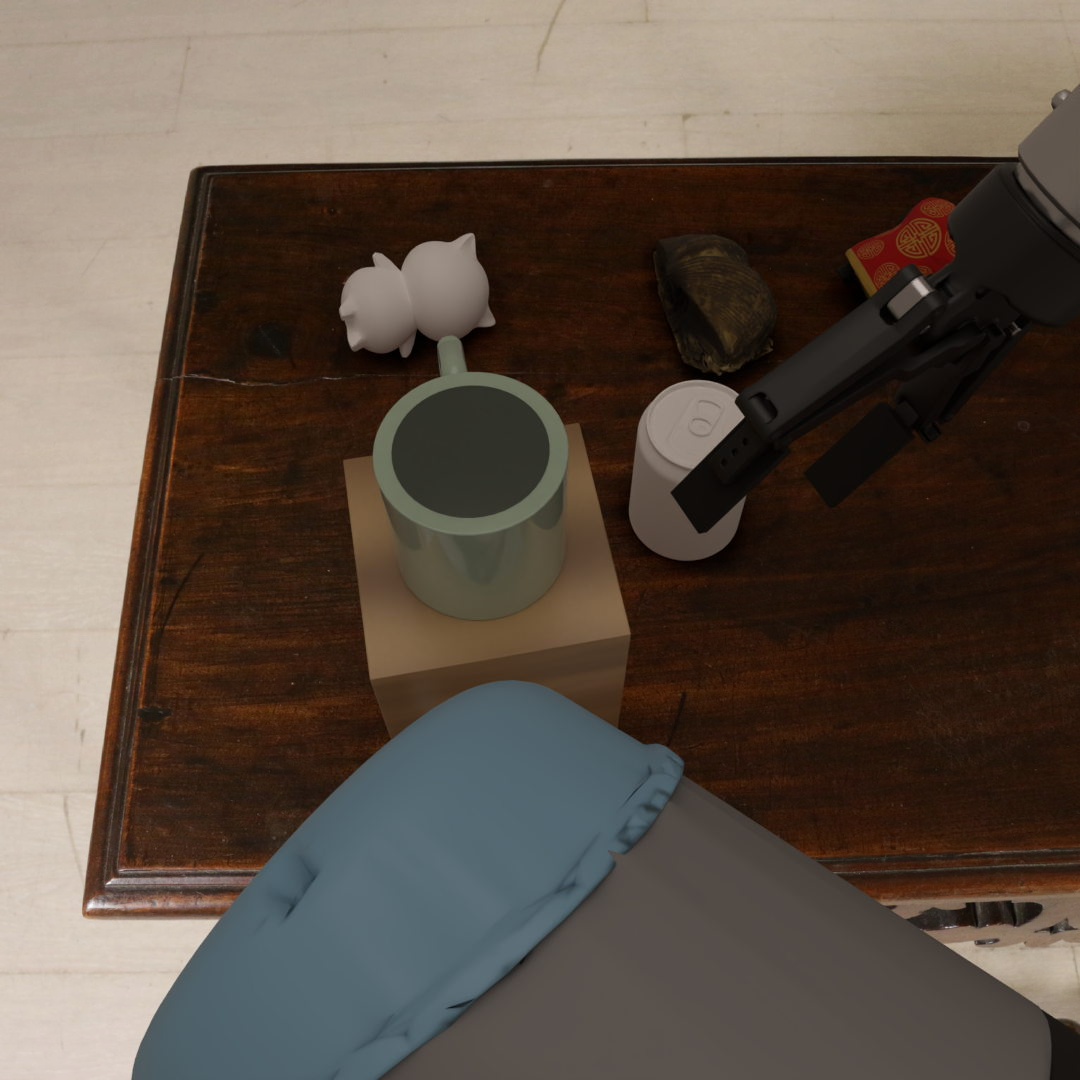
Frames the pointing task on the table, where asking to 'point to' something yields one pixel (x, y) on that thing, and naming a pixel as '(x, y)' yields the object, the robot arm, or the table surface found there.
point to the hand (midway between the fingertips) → (758, 500)
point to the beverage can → (680, 467)
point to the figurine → (902, 247)
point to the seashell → (714, 302)
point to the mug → (474, 490)
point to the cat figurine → (417, 297)
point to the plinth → (497, 644)
